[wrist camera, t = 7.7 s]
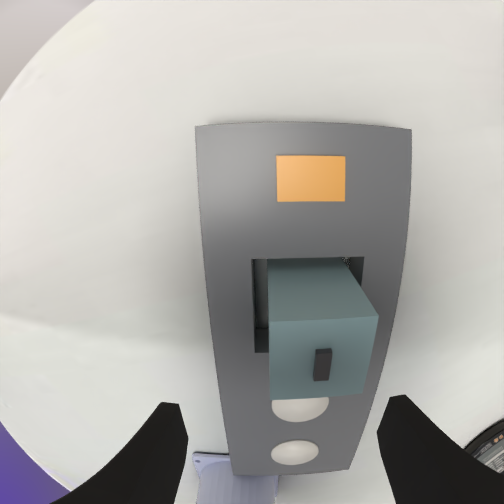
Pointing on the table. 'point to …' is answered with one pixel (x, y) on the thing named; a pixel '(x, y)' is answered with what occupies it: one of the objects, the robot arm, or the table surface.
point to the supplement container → (490, 448)
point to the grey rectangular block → (317, 329)
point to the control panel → (297, 246)
